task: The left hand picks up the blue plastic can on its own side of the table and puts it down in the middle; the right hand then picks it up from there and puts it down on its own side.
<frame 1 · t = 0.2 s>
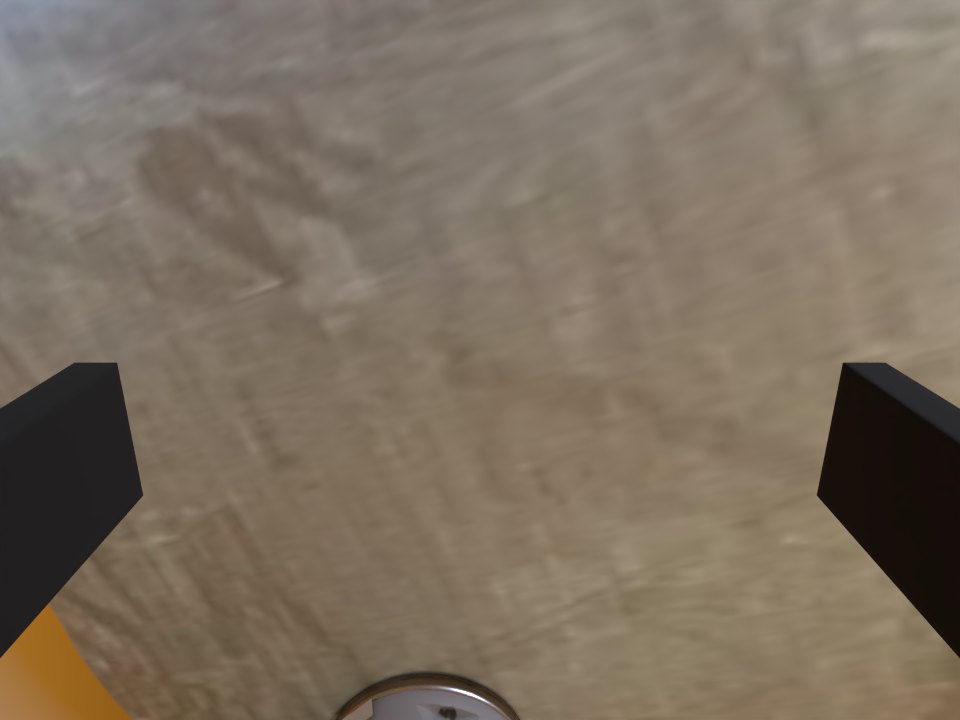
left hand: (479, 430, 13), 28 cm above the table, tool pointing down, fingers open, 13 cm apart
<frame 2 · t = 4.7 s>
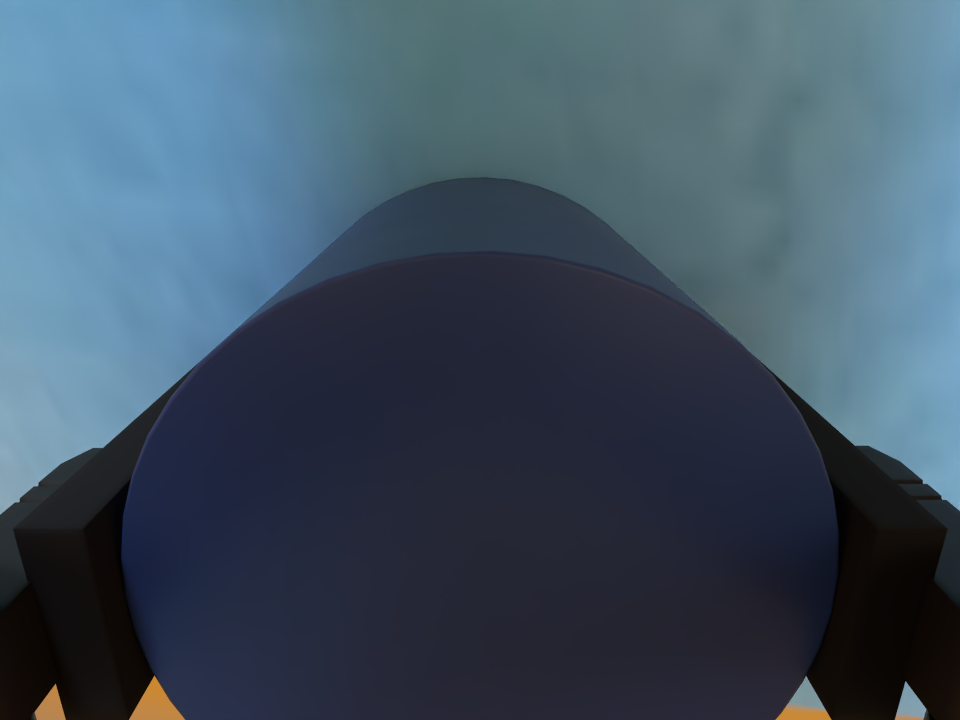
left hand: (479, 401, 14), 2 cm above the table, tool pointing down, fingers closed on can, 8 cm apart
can: (480, 368, 16), on the table, touching left hand
when the left hand's fingers open (4 cm above the table, at t = 9.6 s): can drops 2 cm, on the table.
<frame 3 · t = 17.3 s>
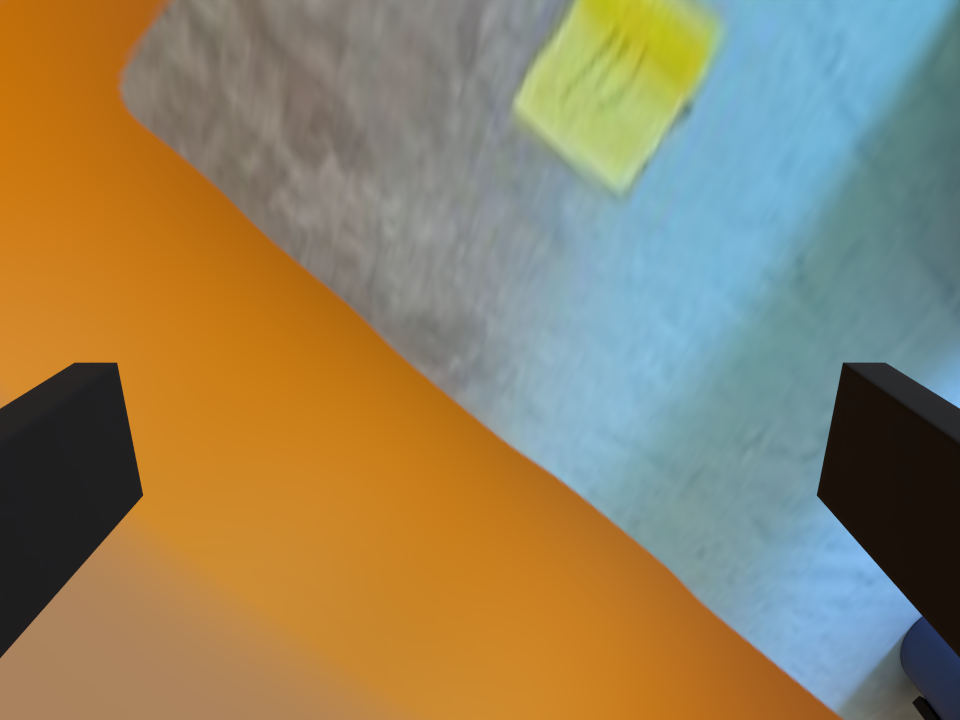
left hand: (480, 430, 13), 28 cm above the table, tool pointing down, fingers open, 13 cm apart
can: (959, 645, 50), on the table, touching right hand
when the right hand's fingers open (4 cm above the table, at t = 26.7 s): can drops 2 cm, on the table.
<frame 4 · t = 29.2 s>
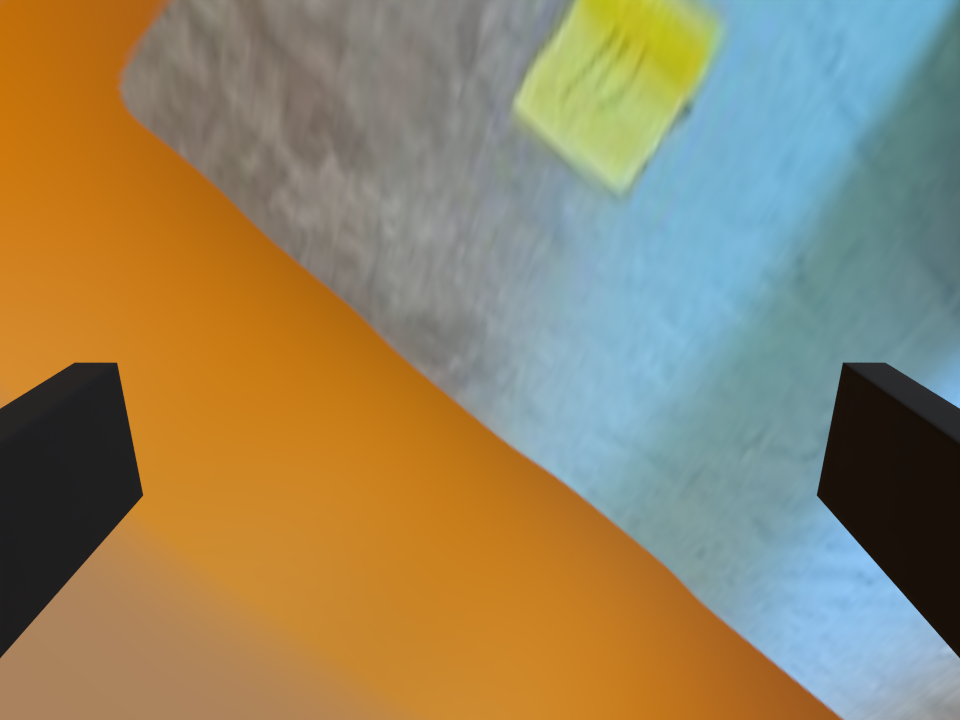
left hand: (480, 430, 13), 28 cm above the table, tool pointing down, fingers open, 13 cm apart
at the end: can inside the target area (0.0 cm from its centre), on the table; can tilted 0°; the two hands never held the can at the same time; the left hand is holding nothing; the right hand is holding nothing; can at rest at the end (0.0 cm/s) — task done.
